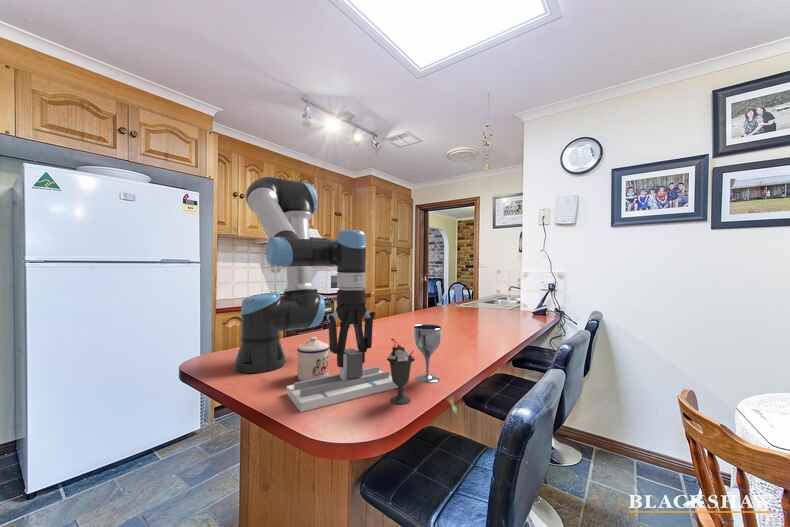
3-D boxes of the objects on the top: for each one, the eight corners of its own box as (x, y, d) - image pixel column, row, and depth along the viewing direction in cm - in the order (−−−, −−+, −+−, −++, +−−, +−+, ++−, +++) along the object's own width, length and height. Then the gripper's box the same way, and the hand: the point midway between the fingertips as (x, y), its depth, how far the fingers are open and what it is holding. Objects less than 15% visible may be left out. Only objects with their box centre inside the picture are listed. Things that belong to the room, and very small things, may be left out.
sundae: (381, 399, 77) (381, 337, 77) (402, 392, 81) (402, 334, 81) (397, 408, 72) (397, 342, 72) (419, 401, 76) (419, 338, 76)
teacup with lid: (315, 384, 87) (316, 342, 87) (290, 380, 90) (290, 339, 90) (340, 371, 98) (340, 333, 98) (316, 367, 101) (317, 331, 101)
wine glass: (437, 385, 86) (437, 330, 87) (410, 381, 89) (410, 328, 90) (444, 375, 94) (444, 325, 94) (418, 372, 97) (418, 323, 97)
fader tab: (340, 378, 85) (340, 349, 85) (352, 375, 87) (352, 348, 87) (349, 385, 80) (349, 355, 80) (362, 382, 82) (362, 353, 82)
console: (286, 393, 80) (286, 380, 80) (375, 374, 95) (375, 363, 95) (300, 412, 70) (300, 396, 70) (397, 387, 85) (397, 374, 85)
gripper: (326, 291, 76) (325, 388, 76) (385, 288, 85) (385, 375, 85) (315, 289, 83) (315, 379, 82) (372, 287, 92) (372, 368, 91)
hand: (351, 377), depth 84 cm, fingers closed on fader tab, 4 cm apart
